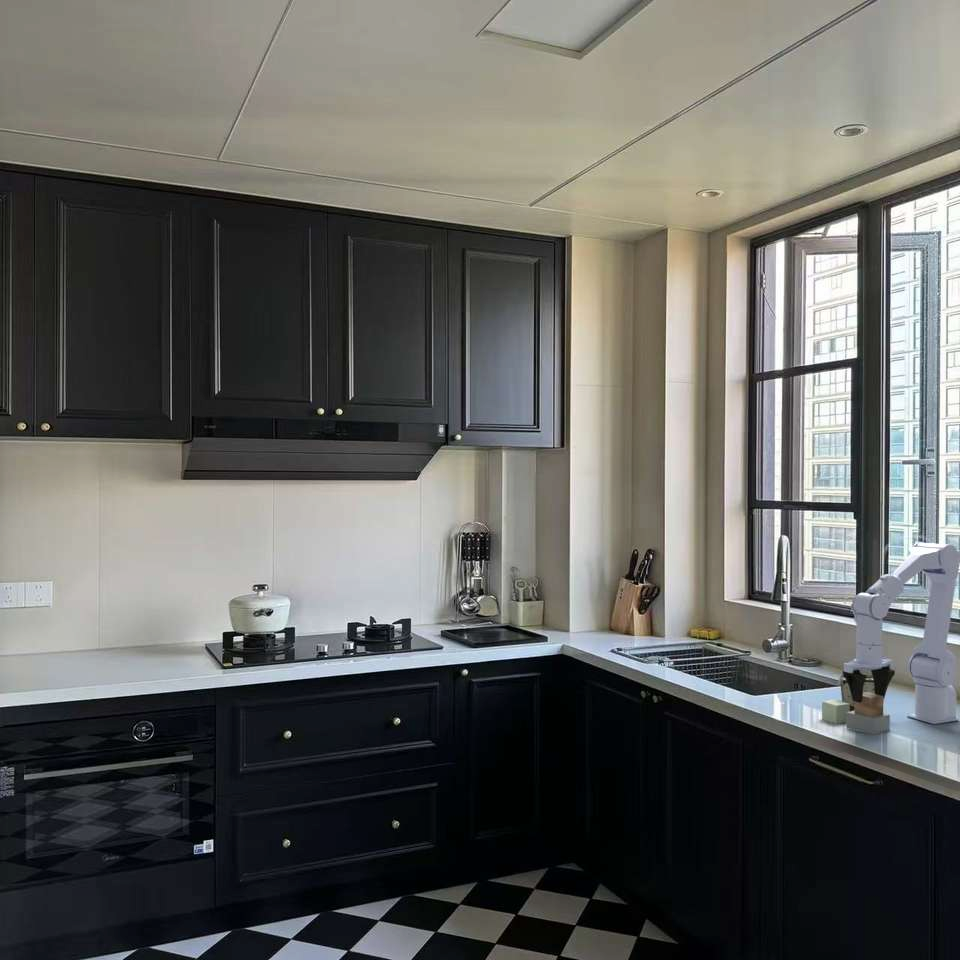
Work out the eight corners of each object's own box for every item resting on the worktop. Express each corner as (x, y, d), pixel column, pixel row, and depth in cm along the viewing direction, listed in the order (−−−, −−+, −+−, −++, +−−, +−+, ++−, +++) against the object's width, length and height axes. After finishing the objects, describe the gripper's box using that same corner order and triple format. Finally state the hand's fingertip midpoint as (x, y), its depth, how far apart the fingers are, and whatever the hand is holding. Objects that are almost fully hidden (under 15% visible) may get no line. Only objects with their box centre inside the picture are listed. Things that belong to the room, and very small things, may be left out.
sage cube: (835, 717, 229) (835, 699, 229) (849, 721, 225) (849, 703, 225) (821, 719, 227) (822, 701, 227) (836, 723, 223) (836, 705, 223)
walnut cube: (867, 710, 221) (867, 692, 221) (883, 714, 217) (883, 696, 217) (854, 712, 219) (854, 693, 219) (869, 716, 215) (870, 697, 215)
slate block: (862, 724, 223) (862, 708, 223) (889, 731, 218) (889, 714, 218) (846, 729, 219) (846, 712, 219) (874, 735, 213) (874, 718, 213)
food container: (876, 711, 235) (876, 672, 235) (887, 717, 229) (888, 677, 229) (829, 711, 235) (829, 672, 235) (839, 717, 229) (839, 677, 229)
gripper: (876, 638, 225) (876, 693, 225) (833, 642, 219) (833, 699, 219) (901, 643, 219) (900, 700, 219) (857, 647, 212) (856, 705, 212)
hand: (868, 700), depth 218 cm, fingers open, 7 cm apart
